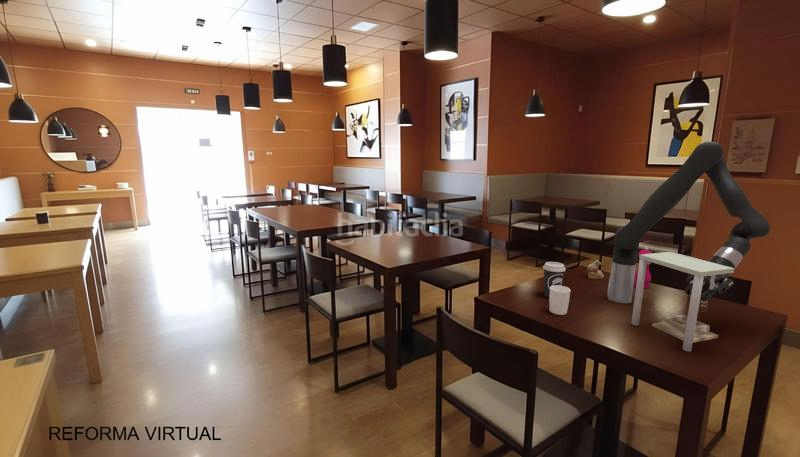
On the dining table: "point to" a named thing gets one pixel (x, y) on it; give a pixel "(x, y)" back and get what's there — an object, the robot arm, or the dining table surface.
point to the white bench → (685, 265)
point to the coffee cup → (552, 275)
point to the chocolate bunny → (594, 270)
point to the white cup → (559, 299)
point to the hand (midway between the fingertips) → (695, 296)
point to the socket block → (684, 328)
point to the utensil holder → (701, 304)
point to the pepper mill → (647, 276)
